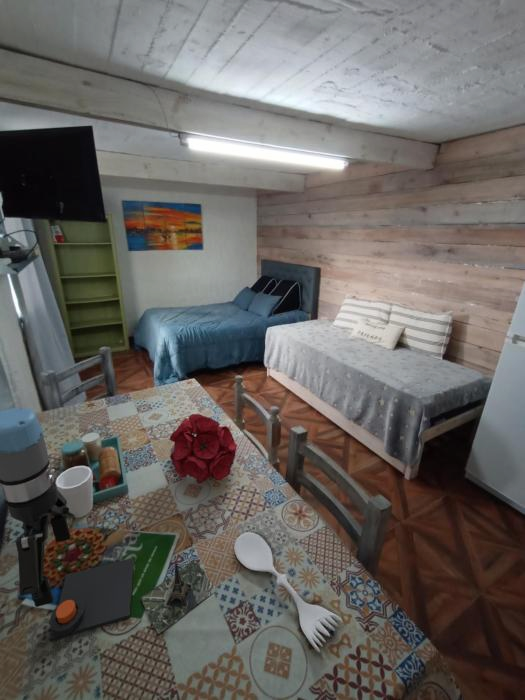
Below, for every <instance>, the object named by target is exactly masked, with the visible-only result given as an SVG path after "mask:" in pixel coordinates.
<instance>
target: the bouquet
mask: <svg viewBox="0 0 525 700" xmlns="http://www.w3.org/2000/svg"><path fill="white" fill-rule="evenodd" d="M220 424H221V423H220V422H218V421H217V420H215V419H214V418H212V417H208V416H206V415H203V414H199V413H193V414H190V415H189V417H188V418H187V417H186V418H184V419H183V420H182V421H181V422H180V425H179V426H177V428H176V429H175V430H174V431H173V432H172V433H171V434H170V435H169V438H168V440H169V441H171V442H172V443H173V442H174V444H173V445H172V447H170V456H169V458H170V459H171V462H172V465H173V468H174V469H175V472H176V474H177V475H179V477H180V478H179V479H184V478H186V477H187V476H189V477H191V478H193V479H196V483H197V485H201V484H202V483H203V482H206V481H207V480H209V479H211V478H212V479H213V480H215V481H217V482H218V481H219V482H222V481H223V480H224V479H226V478H227V477H229V476H230V475H231V473H232V466H233V465H234V463H235V462H234V461H235V458H236V452H237V448H238V445H237V444H236V441H235V439H234V437H233V434H232V432H231V429H230V428H229V427H228V426H226V425H224V426H223V425H221V426H220Z"/></svg>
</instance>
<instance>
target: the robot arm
mask: <svg viewBox="0 0 525 700" xmlns="http://www.w3.org/2000/svg"><path fill="white" fill-rule="evenodd" d="M55 473H56V470H55V469H54V468H52V466H51V462H50V457H49V453H48V448H47V445H46V441H45V435H44V430H43V426H42V424H41V422H40V421H39V418H38V415H37V413H36V412H35V411H34V410H33V409H31V408H29V407H28V408H27V407H21V408H18V407H12V408H8V409H5V410H0V489H1V491H2V494H3V498H4V500H5V503H6V505H7V509H8V512H9V514H10V516H11V518H13V519H14V520H16V521H20V522H21V523H22V529H23V535H22V536H18V537H17V538H16V540H15V545H16V549H17V558H18V559H17V560H18V577H19V578H18V579H19V581H18V582H19V596H20V597H24V596H29V595H31V598H32V601H33V604H34V607H35V608H39V607H42V606H46V605H49V604H53V601H54V596H53V592H52V590H51V586H50V582H49V580H48V577H47V575H45V573H44V570H45V568H44V567H45V543H46V540H48V539H49V524H50V525H51V529H52V532H53V535H54V539H55V543H61V542H65V541H69V540H71V538H72V536H71V533H70V528H69V524H68V521H67V517H66V514H67V515H68V514H70V512H69V508H67V506H66V504H67V501H66V499H65V498H64V497H63V496H62V494H61V493H60V492H59V491H58V490H57V486H56V480H55V476H54V474H55ZM37 535H41V536H37Z"/></svg>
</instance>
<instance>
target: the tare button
mask: <svg viewBox="0 0 525 700" xmlns="http://www.w3.org/2000/svg"><path fill="white" fill-rule="evenodd" d="M75 614H76V606H75V603H74V601H73V600H67V601H64V602H63V603H62V604H60V605H59V607H58V608H57V610H56V616H57V619H58V622H59V623H60V624H65V623H68V622H69V621H71V620H72V619H73V617H74V616H75Z"/></svg>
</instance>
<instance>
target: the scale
mask: <svg viewBox="0 0 525 700" xmlns="http://www.w3.org/2000/svg"><path fill="white" fill-rule="evenodd" d="M134 573H135V557H131V558H127V559H122V560H119V561H114V562H111V563H106V564H102V565H99V566H95V567H89V568H86V569H83V570H82V569H81V570H77V571H75V572H70V573H66V574H65V577H64V581H63V586H62V589H61V593H60V597H59V600H58V604H57V606H56V607H55V609H54V610H53V611H52V612H51V614H50V617H49V622H48V624H49V628H50V634H49V638H48V640H49V642H54V641H55V642H56V641H58V640H62V639H65V638H67V637H72V636H75V635H79V634H81V633H85V632H87V631H91V630H92V631H93V630H94V629H99V628H102V627H105V626H108V625H112V624H116V623H118V622H119V623H120V622H121V621H125V620H128V619H131V615H132V614H131V613H132V600H133V598H132V597H133V585H134ZM67 600H73V601H74V603H75V606H76V614H75V616H74V617H73V619H72V620H71V621H69V622H68V623H65V624H60V623H59V622H58V619H57V616H56V610H57V608H58V607H59V605H60V604H62V603H63V602H64V601H67Z"/></svg>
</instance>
